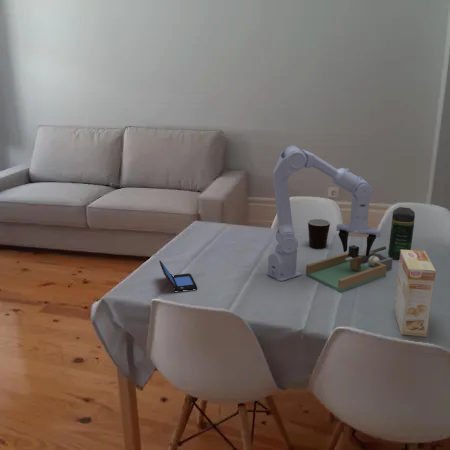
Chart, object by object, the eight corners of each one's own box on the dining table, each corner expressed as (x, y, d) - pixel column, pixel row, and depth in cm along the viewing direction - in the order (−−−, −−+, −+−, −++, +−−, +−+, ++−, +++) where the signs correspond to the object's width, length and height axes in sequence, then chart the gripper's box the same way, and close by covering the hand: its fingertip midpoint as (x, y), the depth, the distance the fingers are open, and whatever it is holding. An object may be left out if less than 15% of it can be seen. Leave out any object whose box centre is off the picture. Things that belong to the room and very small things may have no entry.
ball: (374, 261, 182) (381, 255, 183) (365, 257, 185) (372, 252, 186) (375, 270, 183) (382, 264, 185) (366, 266, 187) (373, 261, 188)
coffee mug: (322, 251, 200) (323, 227, 196) (302, 246, 204) (303, 223, 201) (335, 243, 208) (337, 219, 205) (316, 238, 213) (317, 215, 210)
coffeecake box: (427, 337, 139) (436, 270, 133) (400, 335, 140) (407, 269, 134) (417, 311, 153) (425, 250, 147) (393, 309, 154) (399, 248, 148)
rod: (348, 273, 176) (350, 250, 173) (341, 270, 178) (343, 247, 176) (387, 260, 187) (389, 238, 184) (379, 258, 189) (382, 236, 186)
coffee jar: (409, 262, 189) (415, 213, 183) (387, 259, 192) (392, 211, 186) (410, 253, 198) (416, 206, 192) (389, 250, 200) (393, 204, 194)
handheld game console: (198, 291, 167) (197, 270, 165) (165, 295, 165) (164, 273, 163) (190, 275, 179) (190, 255, 177) (159, 279, 176) (158, 259, 174)
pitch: (340, 292, 166) (341, 280, 164) (306, 275, 178) (306, 264, 177) (398, 271, 181) (399, 260, 180) (362, 257, 194) (363, 247, 192)
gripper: (334, 215, 173) (332, 253, 178) (378, 221, 167) (375, 260, 171) (340, 210, 179) (338, 246, 184) (383, 215, 173) (379, 253, 177)
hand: (356, 253), depth 178 cm, fingers open, 7 cm apart
